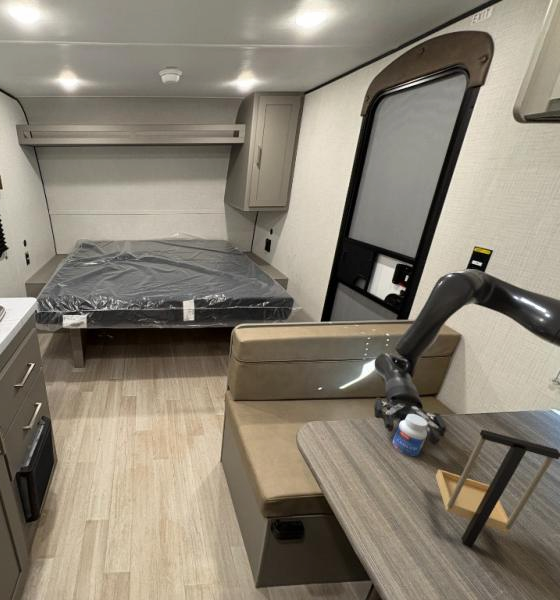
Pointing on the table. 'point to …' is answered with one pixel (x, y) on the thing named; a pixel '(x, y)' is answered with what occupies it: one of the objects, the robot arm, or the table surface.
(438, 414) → the robot arm
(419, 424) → the pill bottle
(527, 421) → the table surface
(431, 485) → the table surface
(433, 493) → the table surface
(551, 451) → the hanging stand
